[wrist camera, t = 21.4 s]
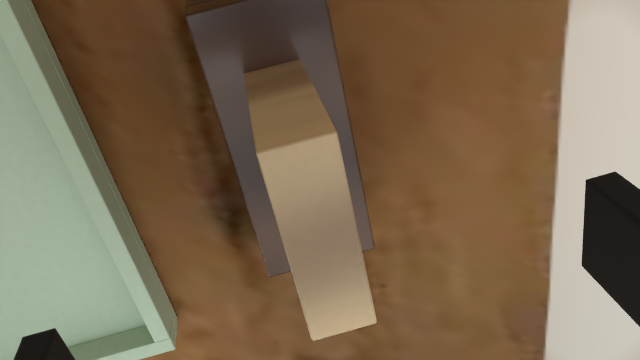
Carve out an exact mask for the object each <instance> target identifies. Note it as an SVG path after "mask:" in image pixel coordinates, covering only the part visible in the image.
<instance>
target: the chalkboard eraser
mask: <svg viewBox="0 0 640 360" xmlns="http://www.w3.org/2000/svg"><path fill="white" fill-rule="evenodd" d="M185 19H186V22H187V25H188V28H189V31H190V34H191V37H192V41H193V44H194V47H195V50H196V53H197V56H198V59H199V62H200V65H201V68H202V71H203V74H204V77H205V81H206V84H207V87H208V90H209V93H210V96H211V99H212V102H213V105H214V108H215V111H216V114H217V117H218V120H219V124H220V127H221V130H222V133H223V136H224V139H225V142H226V145H227V148H228V151H229V154H230V157H231V160H232V164H233V167H234V170H235V173H236V176H237V179H238V182H239V185H240V188H241V191H242V194H243V197H244V200H245V204H246V207H247V210H248V213H249V216H250V219H251V222H252V225H253V228H254V231H255V234H256V237H257V240H258V244H259V247H260V250H261V253H262V256H263V259H264V262H265V265H266V268H267V271H268V274H269V276H270V277H273V276H276V275H280V274H284V273H287V272H291V273H292V276H293V279H294V283H295V286H296V289H297V293H298V296H299V299H300V303H301V306H302V310H303V313H304V316H305V320H306V323H307V326H308V330H309V333H310V336H311V339H312V341H315V340H319V339H322V338H326V337H329V336H333V335H336V334H340V333H344V332H347V331H351V330H354V329H358V328H361V327H365V326H368V325H372V324H375V323H376V322H377V319H376V314H375V310H374V305H373V300H372V295H371V291H370V286H369V281H368V276H367V272H366V267H365V262H364V257H363V253H362V252H363V251H367V250H370V249H373V248H374V241H373V236H372V230H371V225H370V220H369V215H368V210H367V205H366V200H365V194H364V189H363V184H362V179H361V174H360V169H359V164H358V159H357V153H356V148H355V143H354V138H353V133H352V128H351V123H350V117H349V112H348V107H347V102H346V97H345V92H344V87H343V81H342V76H341V71H340V66H339V61H338V56H337V51H336V46H335V40H334V35H333V30H332V25H331V20H330V15H329V10H328V4H327V0H188V3H187V9H186V14H185Z"/></svg>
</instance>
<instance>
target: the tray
mask: <svg viewBox="0 0 640 360" xmlns="http://www.w3.org/2000/svg"><path fill="white" fill-rule="evenodd" d="M177 319H178V318H177V316H176V314H175V312H174V309H173V307H172V305H171V303H170V301H169V299H168V296H167V294H166V292H165V290H164V288H163V286H162V283H161V281H160V279H159V277H158V275H157V273H156V270H155V268H154V266H153V264H152V262H151V259H150V257H149V255H148V253H147V251H146V249H145V246H144V244H143V242H142V240H141V238H140V236H139V233H138V231H137V229H136V227H135V225H134V223H133V220H132V218H131V216H130V214H129V212H128V210H127V207H126V205H125V203H124V201H123V199H122V197H121V194H120V192H119V190H118V188H117V186H116V183H115V181H114V179H113V177H112V175H111V173H110V170H109V168H108V166H107V164H106V162H105V160H104V157H103V155H102V153H101V151H100V149H99V147H98V144H97V142H96V140H95V138H94V136H93V134H92V131H91V129H90V127H89V125H88V123H87V121H86V118H85V116H84V114H83V112H82V110H81V107H80V105H79V103H78V101H77V99H76V97H75V94H74V92H73V90H72V88H71V86H70V84H69V81H68V79H67V77H66V75H65V73H64V71H63V68H62V66H61V64H60V62H59V60H58V58H57V55H56V53H55V51H54V49H53V47H52V45H51V42H50V40H49V38H48V36H47V34H46V32H45V29H44V27H43V25H42V23H41V21H40V18H39V16H38V14H37V12H36V10H35V8H34V5H33V3H32V1H31V0H0V360H14V357H15V355H16V352H17V350H18V347H19V345H20V342H21V340H22V337H25V336H28V335H32V334H35V333H39V332H43V331H46V330H50V329H53V328H56V330H57V331H58V333H59V335H60V336H61V338H62V339H63V341H64V342H65V344H66V346H67V347H68V349H69V350H70V352H71V354H72V355H73V357H74V358H75V360H140V359H143V358H147V357H150V356H154V355H157V354H161V353H164V352H168V351H171V350H175V346H176V334H177Z"/></svg>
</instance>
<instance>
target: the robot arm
mask: <svg viewBox="0 0 640 360" xmlns="http://www.w3.org/2000/svg"><path fill="white" fill-rule="evenodd" d="M582 266H583V267H584V269H586V270H587V272H588V273H589V274H590V275H591V276H592V277H593V278H594V279H595V280H596V281H597V282H598V283H599V284H600V285H601V286H602V287H603V288H604V290H605V291H606V292H607V293H608V294H609V295H610V296H611V297H612V298H613V299H614V300H615V301H616V302H617V303H618V304H619V305H620V306H621V307H622V309H623V310H624V311H625V312H626V313H627V314H628V315H629V316H630V317H631V318H632V319H633V320H634V321H635V322H636V323H637V324H638V325H639V326H640V189H638V188H637V187H636V186H634V185H633V184H632V183H630V182H629V181H627V180H626V179H625V178H623V177H622V176H621V175H619V174H618V173H617V172H612V173H609V174H605V175H602V176H598V177H595V178H591V179H588V180H586V190H585V210H584V230H583V251H582ZM14 360H75V358H74V357H73V355H72V354H71V352H70V350H69V349H68V347H67V346H66V344H65V342H64V341H63V339H62V338H61V336H60V335H59V333H58V331H57V330H56V328H53V329H50V330H46V331H43V332H39V333H35V334H32V335H28V336H25V337H22V340H21V342H20V345H19V347H18V350H17V352H16V355H15V357H14Z"/></svg>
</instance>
